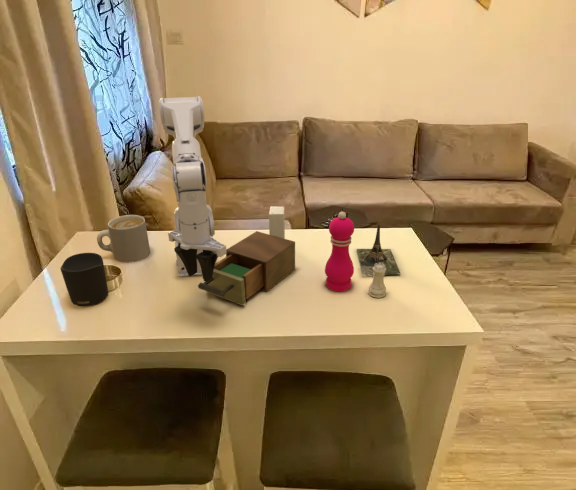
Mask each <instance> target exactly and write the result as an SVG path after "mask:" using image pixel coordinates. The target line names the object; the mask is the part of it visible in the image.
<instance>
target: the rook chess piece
mask: <svg viewBox="0 0 576 490" xmlns="http://www.w3.org/2000/svg"><path fill="white" fill-rule="evenodd" d="M373 270H374V273H373V275H374V276H372V277H373V278H372V281H371V283H370V284H369V286H368V289H367V293H368V294H369V296H371V297H372V298H375V299H380V298H384V297H385V296H386V295H387V286H386V285H385V279H384V278H385V276H386V275H385V274H384V272H385V271H386V268H385V265H384V264H382V265H381V263H379V264H378V265H377V263H376V264H375V265H374V267H373Z"/></svg>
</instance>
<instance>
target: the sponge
mask: <svg viewBox="0 0 576 490" xmlns="http://www.w3.org/2000/svg"><path fill="white" fill-rule="evenodd" d="M250 270H251V269H248V268H245V267H242V266H239V265H235V264H232V263H231V264H229V265H228V266H226V267H224V268H223V269H221V270H220V271H222V272H225V273H228V274H231V275H234V276H237V277H240V278H243V275H244V274H246V273H247V272H249V271H250Z"/></svg>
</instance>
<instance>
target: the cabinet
mask: <svg viewBox="0 0 576 490" xmlns="http://www.w3.org/2000/svg"><path fill="white" fill-rule="evenodd" d="M226 252H227V254H225V257H227V256H228V255H230V254H233V255H236V256H239V257H242V258H246V259H249V260H252V261H255V262H258V263H262V264H264V286H263V287H262V288H261V289H259V291H262V292H266V293H268V292H269V291H270V290H271V289H273V288H274V287H275V286H276V285H278V284H279V283H280V282H281V281H283V280H284V279H285V278H286V277H289V275H290V274H292V273H293V272H294V271H296V241H294V240H291V239H287V238H285V239H284V238H280V237H276V236H273V235H270V234H269V233H265V232H261V231H257V230H256V231H254V232H253V233H251V234H249V235H248V236H246V237H245V238H243V239H241V240H239V241H238V242H236V243H234V244H233V245H231V246H230V247H228V248H226Z"/></svg>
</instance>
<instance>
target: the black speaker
mask: <svg viewBox="0 0 576 490" xmlns="http://www.w3.org/2000/svg"><path fill="white" fill-rule="evenodd" d="M59 269H60V272H61V275H62V278H63V281H64V284H65V288H66V290H67V291H66V292H67V294H68V296H69V299H70V301H71V303H72V304H73V305H74V306H77V307H83V308H87V307H92V306H97V305H98V304H101V303H103V302H104V301H106V299H107V298H108V296H109V289H108V282H107V276H106V270H105V263H104V259H103V257H102V255H100V254H99V253H96V252H80V253H76V254H73V255H70V256H68V257H67V258H66V259H65V260H64V261H63V263H62V265H61V266H60V267H59Z"/></svg>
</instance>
